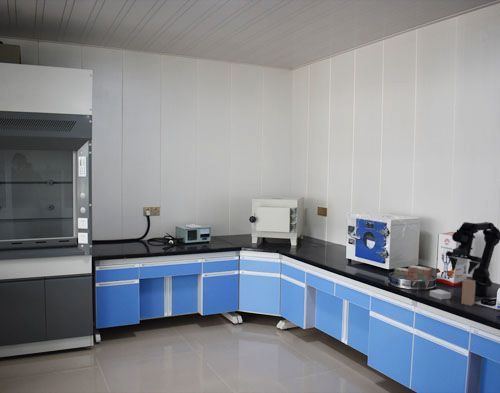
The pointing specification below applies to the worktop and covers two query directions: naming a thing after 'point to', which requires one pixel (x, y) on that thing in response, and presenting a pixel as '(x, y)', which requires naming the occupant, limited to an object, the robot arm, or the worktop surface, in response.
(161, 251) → the worktop surface
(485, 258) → the robot arm
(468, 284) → the terracotta block
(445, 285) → the worktop surface
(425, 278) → the stack of blocks
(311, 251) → the worktop surface
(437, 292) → the plinth block
